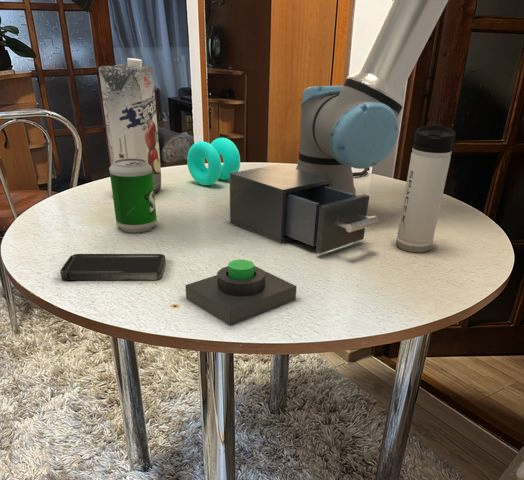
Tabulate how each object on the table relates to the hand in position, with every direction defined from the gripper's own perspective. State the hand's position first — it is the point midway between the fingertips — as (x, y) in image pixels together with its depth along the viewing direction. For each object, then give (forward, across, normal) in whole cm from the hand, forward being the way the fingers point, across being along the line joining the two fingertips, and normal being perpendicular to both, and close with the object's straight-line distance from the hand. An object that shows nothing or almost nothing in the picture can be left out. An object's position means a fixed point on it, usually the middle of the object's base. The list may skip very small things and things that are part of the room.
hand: (76, 4), depth 76 cm
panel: (+19, +31, +35) cm, 51 cm away
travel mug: (-1, +16, +64) cm, 66 cm away
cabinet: (+11, +2, +46) cm, 48 cm away
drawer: (+7, +12, +51) cm, 52 cm away
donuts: (+14, -33, +40) cm, 54 cm away
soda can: (+26, -2, +24) cm, 36 cm away
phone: (+29, +18, +21) cm, 40 cm away
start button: (+16, +31, +33) cm, 48 cm away
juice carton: (+25, -26, +25) cm, 44 cm away
